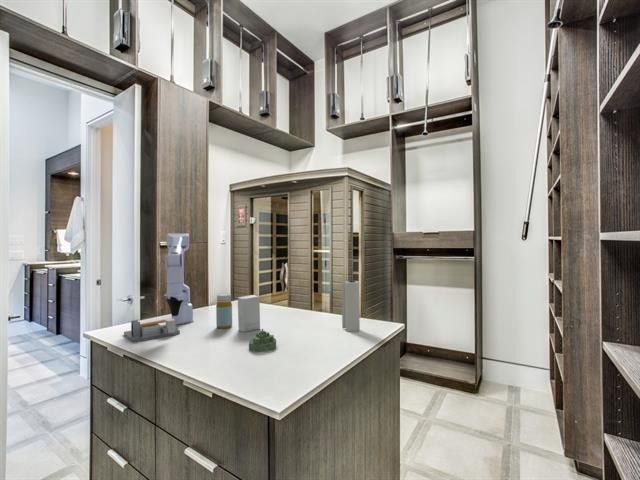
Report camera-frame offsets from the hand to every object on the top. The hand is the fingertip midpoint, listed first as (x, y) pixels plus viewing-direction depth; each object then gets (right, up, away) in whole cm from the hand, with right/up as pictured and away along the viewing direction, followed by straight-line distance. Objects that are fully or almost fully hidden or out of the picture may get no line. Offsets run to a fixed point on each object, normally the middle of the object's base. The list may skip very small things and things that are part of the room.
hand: (174, 315), depth 136 cm
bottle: (+16, -9, +16) cm, 24 cm away
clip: (-5, -8, +5) cm, 11 cm away
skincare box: (+28, -9, +11) cm, 32 cm away
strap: (-13, -5, +6) cm, 15 cm away
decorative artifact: (+39, -9, -14) cm, 42 cm away
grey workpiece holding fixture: (-13, -9, +6) cm, 17 cm away
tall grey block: (+74, -8, +8) cm, 75 cm away
